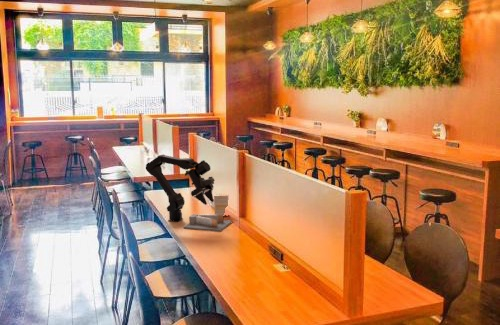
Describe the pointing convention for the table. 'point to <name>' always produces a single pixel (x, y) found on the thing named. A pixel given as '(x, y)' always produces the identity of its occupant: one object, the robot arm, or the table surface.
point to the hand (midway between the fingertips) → (209, 203)
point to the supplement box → (220, 203)
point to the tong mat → (196, 226)
